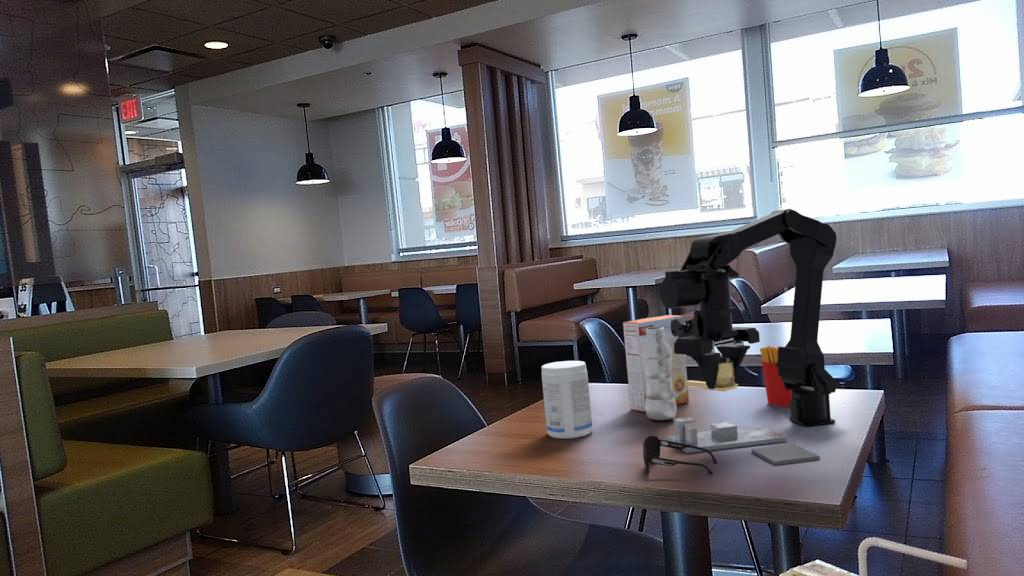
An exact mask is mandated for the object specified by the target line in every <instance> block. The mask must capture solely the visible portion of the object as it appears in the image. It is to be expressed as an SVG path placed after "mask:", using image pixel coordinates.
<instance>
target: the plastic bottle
mask: <svg viewBox="0 0 1024 576" xmlns="http://www.w3.org/2000/svg"><path fill="white" fill-rule="evenodd" d="M663 336H665V335H664V328H663V327H651V328H646V337H648V338H647V341H646V343H645V344H644V346H643V348H642V350H641V357H642V362H643V366H644V371H645V377H646V402H645V410H646V412H645V413H646V416H647V418H649V419H650V420H652V421H654V420H655V421H660V422H661V421H668V420H672V419H675V417H676V415H677V410H678V409H677V408H678V407H677V405H676V401H675V398H674V394H673V388H672V381H671V362H672V351H671V348H670V346H669V345H668V344H667V342H666V341H665V340H664V339H663Z"/></svg>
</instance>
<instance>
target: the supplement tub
mask: <svg viewBox="0 0 1024 576" xmlns="http://www.w3.org/2000/svg"><path fill="white" fill-rule="evenodd" d="M541 382H542V383H541V384H542V393H543V403H544V414H545V424H546V431H547V432H546V433H547V434H548V435H549V437H551V438H554V439H560V440H561V439H564V440H566V439H567V440H568V439H569V440H570V439H577V438H581V437H585V436H588V435H590V434H591V433H592V431H593V415H592V407H591V395H590V387H589V386H590V383H589V377H588V370H587V364H586V362H585V361H582V360H564V361H563V360H562V361H554V362H549V363H545V364H543V365H541Z"/></svg>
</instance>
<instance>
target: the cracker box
mask: <svg viewBox="0 0 1024 576" xmlns="http://www.w3.org/2000/svg"><path fill="white" fill-rule="evenodd" d="M678 318H683V316H682V315H675V314H674V315H671V314H665V315H661V316H653V317H652V316H651V317H646V318H640V319H639V318H638V319H633V320H629V321H624V322H622V327H623V338H624V349H625V361H626V372H627V380H628V381H627V382H628V383H627V384H628V393H629V394H628V395H629V404H630V405H629V407H630V410H631V411H637V412H642V413H646V410H645V402H646V377H645V371H644V366H643V362H642V357H641V350H642V348H643V346H644V344H645V343H646V341H647V338H648V337H646V328H651V327H663V328H664V335H665V336H663V339H664V340H665V341H666V342H667V344H668V345H669V346H670V348H671V351H672V362H671V381H672V388H673V394H674V398H675V401H676V406H677V405H678V406H679V405H682V404H686V403H689V402H690V398H689V386H685V381H688V373H687V372H688V371H687V361H686V355H685V354H674V342H675V341H676V339H677V338H678V336H677V337H674V336H673V335H672V334H671V321H672V320H674V319H678Z"/></svg>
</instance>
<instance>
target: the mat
mask: <svg viewBox="0 0 1024 576" xmlns="http://www.w3.org/2000/svg"><path fill="white" fill-rule="evenodd" d="M751 453H752V454H753V455H756V456H757V457H759V458H761V459H763V460H765V461H766V462H769V463H770V464H772V465H773V466H778V465H779V466H780V465H785V464H786V465H787V464H793V463H794V464H795V463H803V462H811V461H819V460H821V456H820V455H818V454H817V453H814V452H813V451H810V450H808V449H807V448H804V447H802V446H800V445H798V444H796V443H792V444H784V445H776V446H768V447H767V446H766V447H760V448H751Z"/></svg>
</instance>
